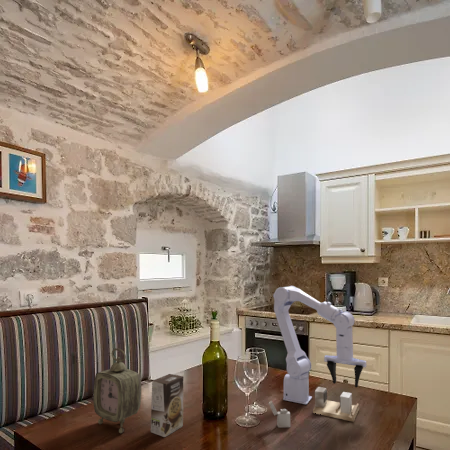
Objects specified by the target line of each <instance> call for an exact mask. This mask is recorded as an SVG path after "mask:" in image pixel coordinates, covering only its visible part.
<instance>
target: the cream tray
mask: <svg viewBox="0 0 450 450" xmlns="http://www.w3.org/2000/svg"><path fill="white" fill-rule="evenodd" d="M314 401H315V403H314V408H313V409H312V413H313V414H315V413H316V414H315V415H320V414H321V415H320V416H325V417H330V418H334V419H340V420H344V421H349V422H355V420H356V418H357V415H358V413H359V410H360V404H359V403H358V402H357V403H356V404H352V410H351V412H350V414H346V413H341V406H340V401H334V400H333V401H332V400H328V390H327V388H326V387H323V386H317V387H316V389H315V391H314Z"/></svg>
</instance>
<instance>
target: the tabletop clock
mask: <svg viewBox="0 0 450 450" xmlns="http://www.w3.org/2000/svg"><path fill="white" fill-rule="evenodd" d="M116 351H118V352H121V353H122V354H123V359H121V357H120V356H118V357H117V358H116V357H115V356H114V352H116ZM111 357H112V359H113V360H114V361H115V362H114V363H112V365H111V367H110V368H109V369H106V370H102V371H100V372H97V373H95V376H94V381H93V399H92V400H93V409H94V413H95V414H96V415H97V416H98V417H101V418H99V419H98V421H97V423H98V424H99V425H102V424H103V423H104V420H105V421H109V422H111V423H118V422H119V424H120V427H119V429H118V433H120V434H123V433H124V432H125V429H124V427H123V426H124V423H125V422H126V421H125V419H127V418H129V417H132V416H134V415H136V414H137V413H138V412H139V411H140V409H141V403H142V378H141V375H140V373H138V372H137V371H134V370H132V369H128V368H127V366H126V364H125V363H124V362H125V360H126V353H125V351H124V350H123V349H121V348H119V347H118V348H116V347H115V348H114V349H112V351H111Z"/></svg>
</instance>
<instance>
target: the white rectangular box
mask: <svg viewBox="0 0 450 450" xmlns="http://www.w3.org/2000/svg"><path fill="white" fill-rule="evenodd" d="M339 403H340V406H341V413H346V414H350V412H351V410H352V405H353V395H352V392H348V391H347V392H346V391H343V392H342V393H341V394H340V396H339Z"/></svg>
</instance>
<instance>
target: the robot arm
mask: <svg viewBox="0 0 450 450" xmlns="http://www.w3.org/2000/svg"><path fill="white" fill-rule="evenodd" d="M274 291H275V292H274V293H273V294H272V296H273V300H274V301H273V302H274V303H273V311H274V314H275V318H276V321H277V324H278V326H279V327H278V328H279V329H280V330H279V331H280V334H281V336H282V339H283V342H284V346H285V348H286V352H287V354H286V357H285V362H286V372H287V373H286V374H285V375H284V376H283V377H284V378H283V399H282V400H283V401H288V402H291V403H292V402H293V403H296V404H297V403H298V404H302V405H308V403H309V402H310V401H311V400H312V398H313V396H311V395H310V393H309V391H310V390H309V389H310V387H309V385H310V384H309V377H310V376H309V372H310V371H311V369H312V361H311V360H310V359H309V357H308V356H307V353H306V352H305V351H304V350H303V349H302V348H301V345H300V342H299V340H298V336H297V334H296V331H295V328H294V325H293V322H292V318H291V315H290V312H289V311H290V308H291V306H292V305H293V304H294V303H295V302H299V303H302V304H304V305H306V306H307V307H310V308H312V309H314V310H316V313H317V315H318V316H320V317H321V318H323V319H325V320H326V321H329V322H330V323H332V324H333V326H334V328H335V332H336V334H335V335H336V336H335V337H336V338H335V339H336V342H335V343H336V355H330V354H329V355H326V354H325V355H324V356H323V358H324V359H323V362H324V363H325V362H326V368H327V369H328V370H329V373H330V375H331V378H332V384H336V383H337V364H340V365H341V364H343V365H348V366H349V365H350V366H354V367H353V370H354V388H358V387H359V382H360V381H359V380H360V377H361V373H362V371H363V369H366V368H367V360H364V359H358V358H356V357H354V343H353V334H354V333H353V326H354V325H355V317H354V315H353V314H352V313H351V312H350V311H343V309H342V308H338V307H336V306H334V305H332V302H330V301H323V302H320V301H319V300H317V299H316V298H314V297H313V296H311V295H309V294H308V293H307V292H305V291H303V290H302V289H300V287H296V286H294V285H289V286H283V287H282V286H279V287H278V288H276V289H275V290H274Z"/></svg>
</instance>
